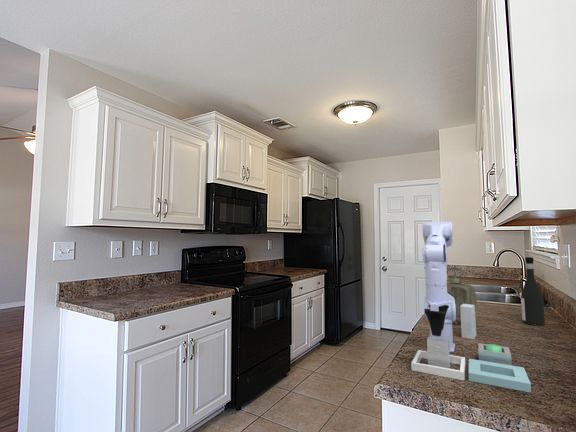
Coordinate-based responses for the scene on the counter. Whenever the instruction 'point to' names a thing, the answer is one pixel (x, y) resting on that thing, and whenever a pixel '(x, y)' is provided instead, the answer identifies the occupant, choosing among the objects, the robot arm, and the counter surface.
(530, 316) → the wine bottle
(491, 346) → the button
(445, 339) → the billet
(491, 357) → the button housing
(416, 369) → the white square frame
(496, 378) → the pale blue window frame
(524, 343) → the counter surface
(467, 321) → the skincare box
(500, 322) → the counter surface
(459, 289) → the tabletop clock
